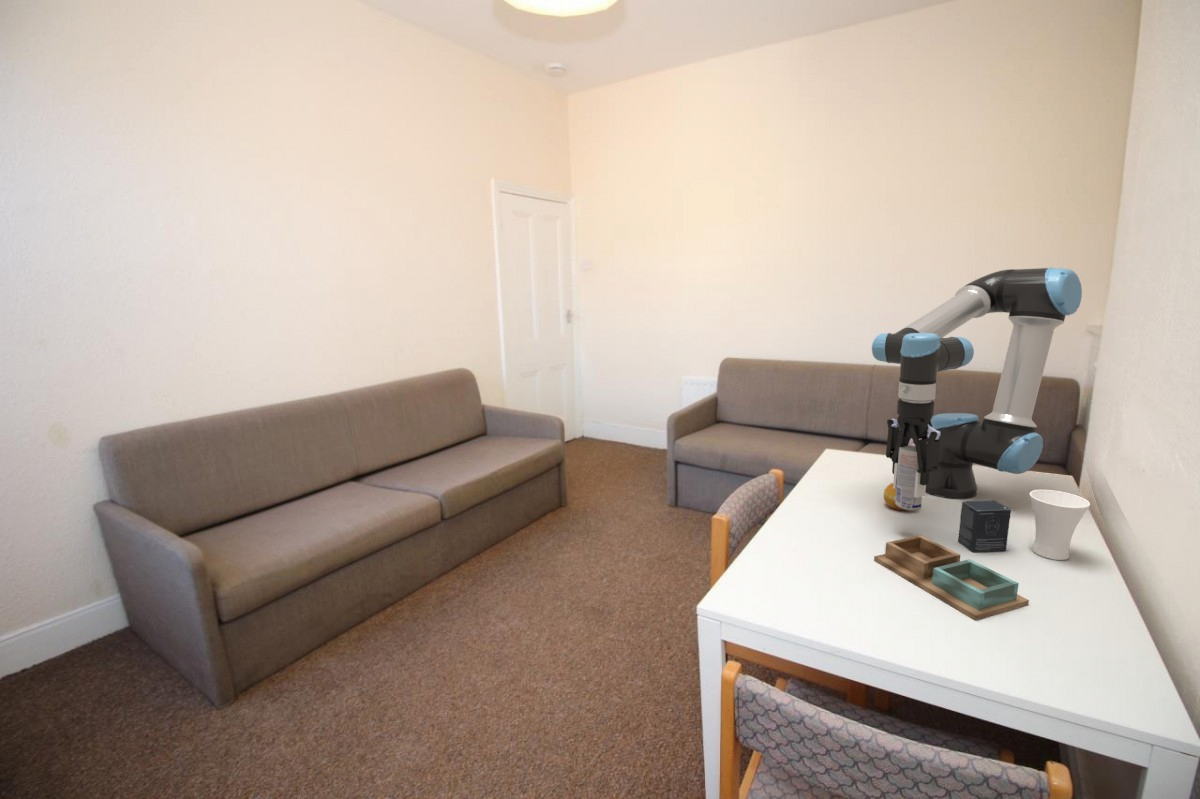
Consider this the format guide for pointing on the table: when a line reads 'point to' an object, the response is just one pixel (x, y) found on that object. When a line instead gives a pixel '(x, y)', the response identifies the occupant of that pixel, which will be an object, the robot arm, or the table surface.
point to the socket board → (951, 577)
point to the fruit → (891, 497)
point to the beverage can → (907, 479)
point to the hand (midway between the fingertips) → (908, 491)
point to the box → (984, 526)
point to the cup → (1055, 521)
